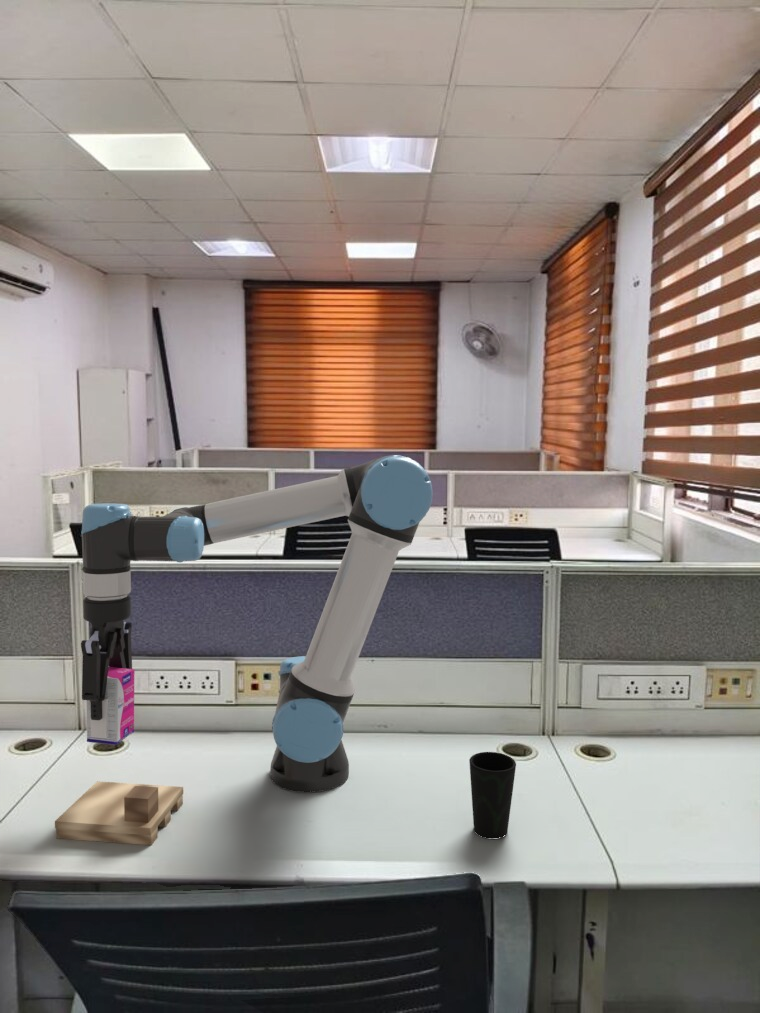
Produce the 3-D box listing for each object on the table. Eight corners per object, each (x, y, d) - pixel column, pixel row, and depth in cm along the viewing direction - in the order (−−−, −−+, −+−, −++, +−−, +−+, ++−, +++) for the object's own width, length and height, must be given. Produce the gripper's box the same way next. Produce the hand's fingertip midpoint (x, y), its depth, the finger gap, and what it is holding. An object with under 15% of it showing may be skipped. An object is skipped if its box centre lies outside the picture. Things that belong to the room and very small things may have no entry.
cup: (502, 847, 117) (505, 775, 116) (459, 833, 121) (461, 764, 120) (520, 827, 124) (522, 758, 123) (479, 814, 128) (481, 747, 127)
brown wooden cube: (158, 810, 122) (158, 787, 121) (148, 822, 118) (148, 798, 117) (135, 808, 122) (135, 785, 122) (124, 821, 118) (124, 797, 118)
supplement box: (118, 745, 122) (116, 678, 121) (85, 742, 123) (84, 675, 122) (136, 732, 127) (135, 667, 126) (105, 728, 129) (103, 665, 127)
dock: (183, 803, 130) (183, 787, 130) (150, 846, 116) (150, 828, 116) (97, 797, 132) (97, 781, 132) (55, 839, 118) (54, 821, 118)
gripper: (112, 584, 133) (113, 707, 135) (55, 607, 114) (58, 750, 116) (152, 585, 132) (153, 710, 134) (101, 609, 113) (103, 753, 115)
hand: (109, 728), depth 125 cm, fingers closed on supplement box, 6 cm apart
